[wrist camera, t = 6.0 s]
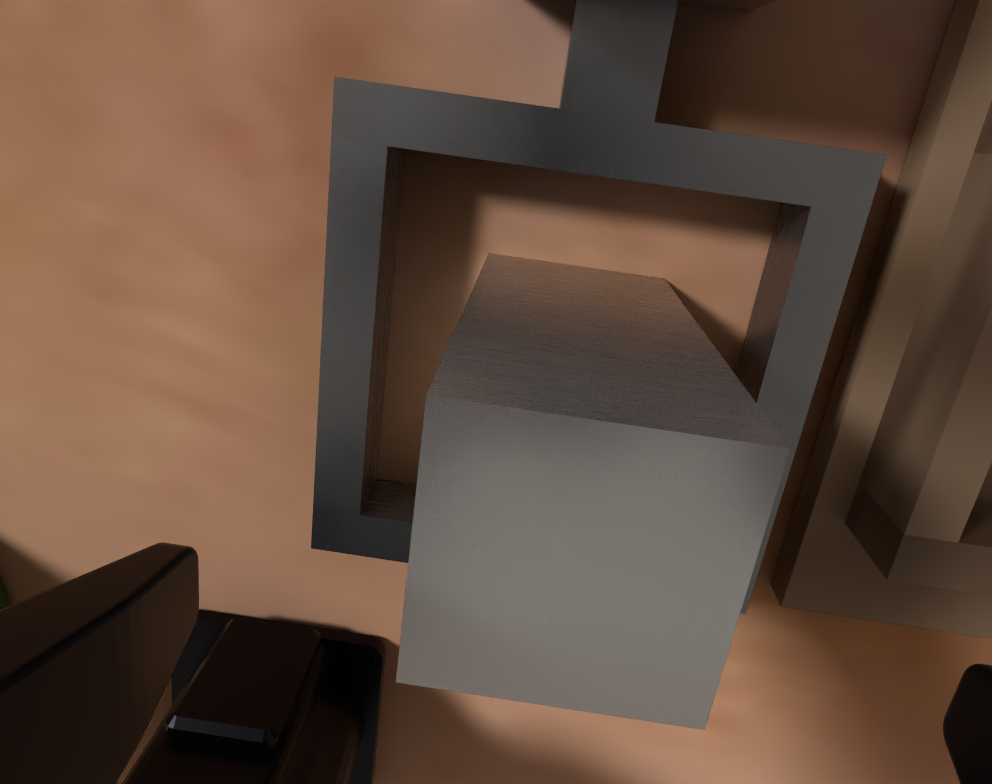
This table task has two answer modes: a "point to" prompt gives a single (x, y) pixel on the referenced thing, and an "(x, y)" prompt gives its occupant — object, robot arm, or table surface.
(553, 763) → the table surface
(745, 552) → the brushed grey square post
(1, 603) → the wine bottle
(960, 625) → the brown open tray
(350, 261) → the socket block
